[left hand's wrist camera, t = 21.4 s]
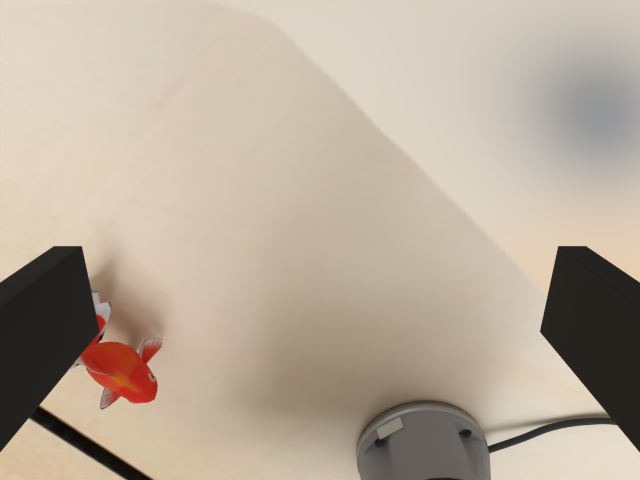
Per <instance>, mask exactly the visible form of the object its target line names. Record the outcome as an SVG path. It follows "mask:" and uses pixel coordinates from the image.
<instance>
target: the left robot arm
mask: <svg viewBox="0 0 640 480" xmlns="http://www.w3.org/2000/svg"><path fill="white" fill-rule="evenodd" d="M99 332H100V330H99V325H98V320H97V316H96V311H95V306H94V302H93V297H92V292H91V288H90V283H89V278H88V273H87V269H86V264H85V259H84V255H83V250H82V246H54V247H52V248H51V249H49V250H48V251H46V252H45V253H43V254H42V255H40V256H39V257H37V258H36V259H34V260H33V261H31V262H30V263H28V264H27V265H25V266H24V267H23V268H21V269H20V270H18V271H17V272H15V273H14V274H12V275H11V276H9V277H8V278H6V279H5V280H3V281H2V282H0V452H1V451H2V449H3V448H4V447H5V446H6V445H7V443H8V442H9V441H10V440H11V439H12V437H13V436H14V435H15V434H16V433H17V431H18V430H19V429H20V428H21V427H22V425H23V424H24V423H25V422H26V421H27V419H28V418H29V417H30V416H31V414H32V413H33V412H34V411H35V410H36V408H37V407H38V406H39V405H40V404H41V402H42V401H43V400H44V399H45V398H46V396H47V395H48V394H49V393H50V392H51V390H52V389H53V388H54V387H55V385H56V384H57V383H58V382H59V381H60V379H61V378H62V377H63V376H64V375H65V373H66V372H67V371H68V370H69V369H70V367H71V366H72V365H73V364H74V363H75V361H76V360H77V359H78V358H79V357H80V355H81V354H82V353H83V352H84V350H85V349H86V348H87V347H88V346H89V344H90V343H91V342H92V341H93V340H94V338H95V337H96V336H97V335H98V334H99ZM540 332H541V334H542V335H543V336H544V337H545V338H546V340H547V341H548V342H549V343H550V344H551V346H552V347H553V348H554V349H555V350H556V352H557V353H558V354H559V355H560V357H561V358H562V359H563V360H564V361H565V363H566V364H567V365H568V366H569V367H570V369H571V370H572V371H573V372H574V373H575V375H576V376H577V377H578V378H579V379H580V381H581V382H582V383H583V384H584V385H585V387H586V388H587V389H588V390H589V392H590V393H591V394H592V395H593V396H594V398H595V399H596V400H597V401H598V402H599V404H600V405H601V406H602V407H603V408H604V410H605V411H606V412H607V413H608V414H609V416H610V417H611V418H583V419H573V420H567V421H561V422H556V423H552V424H548V425H545V426H542V427H540V428H537V429H535V430H532V431H530V432H527V433H525V434H522V435H520V436H517V437H514V438H511V439H508V440H505V441H502V442H499V443H496V444H493V445H490V446H487V443H486V440H485V438H484V435H483V433H482V431H481V429H480V427H479V425H478V424H477V423H476V421H475V420H474V419H473V418H472V417H471V416H470V415H468V414H467V413H466V412H464V411H462V410H461V409H459V408H457V407H454V406H452V405H449V404H445V403H440V402H433V401H419V402H411V403H406V404H402V405H399V406H396V407H394V408H391V409H389V410H387V411H385V412H384V413H382V414H380V415H379V416H378V417H376V418H375V419H374V420H373V421H372V422H371V423H370V424H369V425H368V426H367V427H366V429H365V430H364V431H363V433H362V435H361V437H360V439H359V442H358V446H357V463H358V471H359V474H360V478H361V480H491V474H490V455H489V453H492V452H495V451H498V450H501V449H504V448H507V447H510V446H512V445H515V444H518V443H521V442H524V441H526V440H529V439H531V438H534V437H536V436H539V435H541V434H544V433H546V432H549V431H553V430H557V429H561V428H566V427H572V426H580V425H594V424H612V425H618V427H619V428H620V429H621V430H622V431H623V433H624V434H625V435H626V436H627V437H628V439H629V440H630V441H631V442H632V443H633V445H634V446H635V447H636V448H637V449H638V451H639V452H640V282H638V281H637V280H635V279H634V278H632V277H631V276H629V275H628V274H626V273H625V272H623V271H622V270H620V269H619V268H617V267H616V266H614V265H613V264H612V263H610V262H609V261H607V260H606V259H604V258H603V257H601V256H600V255H598V254H597V253H595V252H594V251H592V250H591V249H589V248H588V247H586V246H558V250H557V255H556V259H555V264H554V269H553V274H552V278H551V283H550V288H549V292H548V297H547V302H546V306H545V311H544V316H543V320H542V325H541V330H540Z"/></svg>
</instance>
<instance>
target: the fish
mask: <svg viewBox="0 0 640 480" xmlns="http://www.w3.org/2000/svg"><path fill="white" fill-rule="evenodd" d="M91 292H92V297H93V302H94V306H95V311H96V316H97V320H98V325H99V330H100V332H99V334H98V335H97V336H96V337H95V338H94V340H93V341H92V342H91V343H90V344H89V346H88V347H87V348H86V349H85V350H84V352H83V353H82V354H81V355H80V357H79V358H78V359H77V360H76V361H75V363H74V364H73V365H72V366H71V367H70V369H69V370H71V369H72V368H74V367H76V366H78V365H79V364H80V365H83V366H85V367H86V369H87V371H88V373H89V374H90V375H91V376H92V378H93V379H94V380H95V381H96V382H98V383H99V384H100V385H102V386H103V387H105V389H104V391H103V394H102V397H101V404H100V407H101V409H104V408H106V407H108V406H110V405H111V404H112V403H113V402H115V401H116V400H117V399H118V398H119V397H120V396H122V397H124V398H127V399H128V401H129V402H131V403H133V404H136V403H148V402H150V401H152V400H154V399H155V397H156V393H157V387H158V385H157V380H156V378H155V376H154V375H153V373H152V372H151V370H150V369H149V367H148V366H147V363H148V361H149V360H150V359H151V358H152V357H153V356H154V355H155V354H156V352H157V351H158V350H159V349H160V348H161V344H162V340H161V339H148V340H146V341H145V342H144V344H143V345H142V347H141V350H140V353H139V354H138V353H137V352H136V351H135V350H133V349H132V348H131V347H129V346H127V345H125V344H122V343H118V342H104V343H99V341H101V340H102V337H103V335H104V332H105V329H106V326H107V323H108V320H109V317H110V312H111V304H110V302H106V303H100V299H99V292H96V291H91ZM69 370H68V371H69Z"/></svg>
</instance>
